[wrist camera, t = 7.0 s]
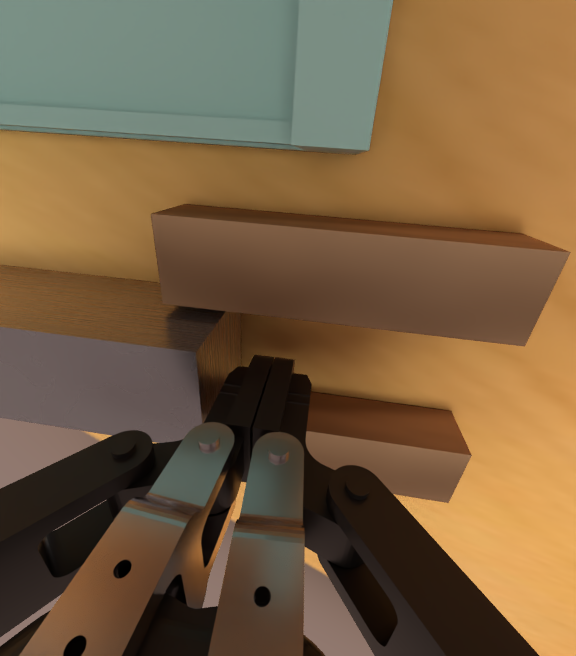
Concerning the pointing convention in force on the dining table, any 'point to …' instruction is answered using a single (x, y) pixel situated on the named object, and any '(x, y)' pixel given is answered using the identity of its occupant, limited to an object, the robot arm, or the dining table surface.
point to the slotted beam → (364, 311)
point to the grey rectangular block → (109, 354)
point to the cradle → (196, 70)
